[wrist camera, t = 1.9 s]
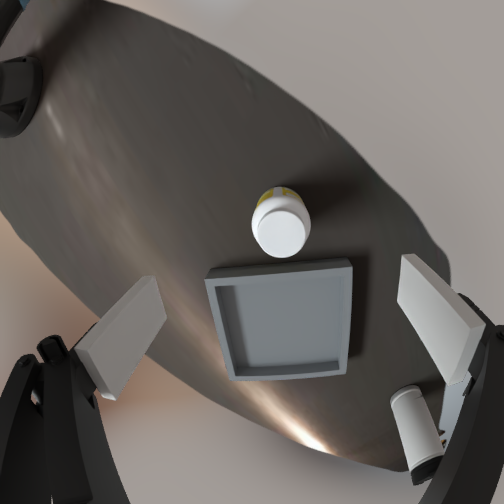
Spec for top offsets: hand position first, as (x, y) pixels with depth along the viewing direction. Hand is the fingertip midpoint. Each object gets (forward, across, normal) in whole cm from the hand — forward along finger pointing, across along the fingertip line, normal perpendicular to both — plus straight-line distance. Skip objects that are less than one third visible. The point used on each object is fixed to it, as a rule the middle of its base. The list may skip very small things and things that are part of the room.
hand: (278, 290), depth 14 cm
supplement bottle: (+19, 0, 0) cm, 19 cm away
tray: (+19, -1, -15) cm, 24 cm away
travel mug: (+19, +21, -36) cm, 46 cm away
